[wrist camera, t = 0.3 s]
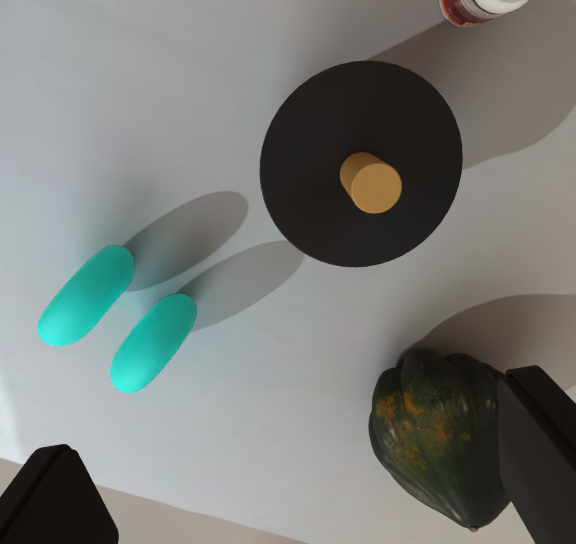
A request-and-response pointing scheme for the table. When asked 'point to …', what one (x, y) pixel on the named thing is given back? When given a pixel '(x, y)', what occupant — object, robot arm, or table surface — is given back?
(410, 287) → the table surface
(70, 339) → the donuts
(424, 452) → the squash
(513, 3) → the pill bottle
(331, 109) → the lid
